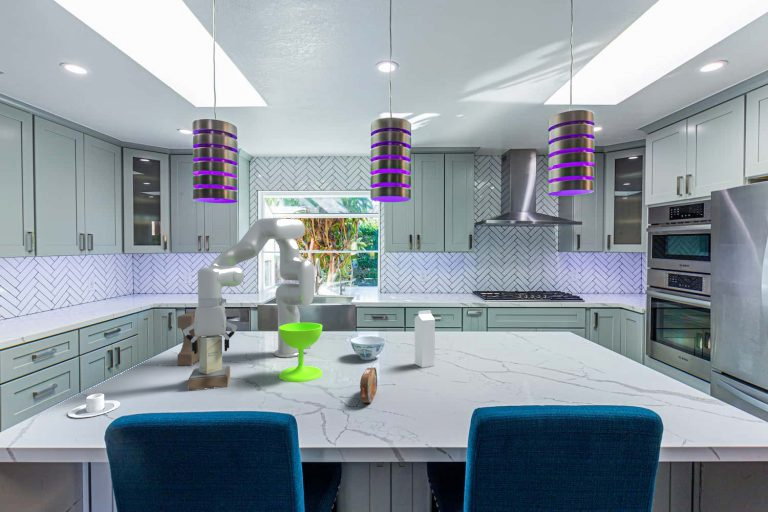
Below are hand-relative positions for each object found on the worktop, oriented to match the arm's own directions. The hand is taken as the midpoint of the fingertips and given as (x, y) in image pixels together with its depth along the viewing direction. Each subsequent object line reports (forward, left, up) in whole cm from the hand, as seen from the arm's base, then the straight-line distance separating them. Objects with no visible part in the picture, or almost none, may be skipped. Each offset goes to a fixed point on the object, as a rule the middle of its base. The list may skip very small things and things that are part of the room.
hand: (211, 351), depth 132 cm
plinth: (0, 0, -11) cm, 11 cm away
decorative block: (+11, -30, -11) cm, 34 cm away
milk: (-80, +4, -11) cm, 81 cm away
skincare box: (0, 0, -7) cm, 7 cm away
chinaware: (-61, -13, -11) cm, 63 cm away
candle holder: (+29, +14, -12) cm, 35 cm away
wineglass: (-31, +1, -11) cm, 33 cm away
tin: (-49, +30, -11) cm, 58 cm away
